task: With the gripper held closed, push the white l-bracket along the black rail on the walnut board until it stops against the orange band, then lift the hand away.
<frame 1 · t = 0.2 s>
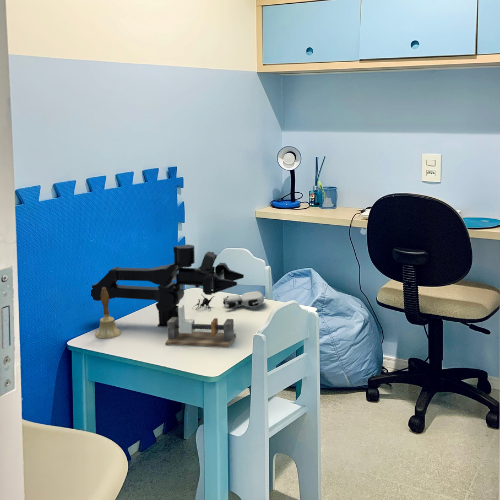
hand: (240, 279, 210), 16 cm above the table, tool horizontal, fingers open, 9 cm apart
creature: (203, 310, 235), on the table
robot toy: (243, 307, 237), on the table
white l-bracket: (186, 318, 202), point 7 cm above the table, slide at 0.0 cm
rail board: (201, 340, 203), on the table
hand bell: (108, 335, 211), on the table
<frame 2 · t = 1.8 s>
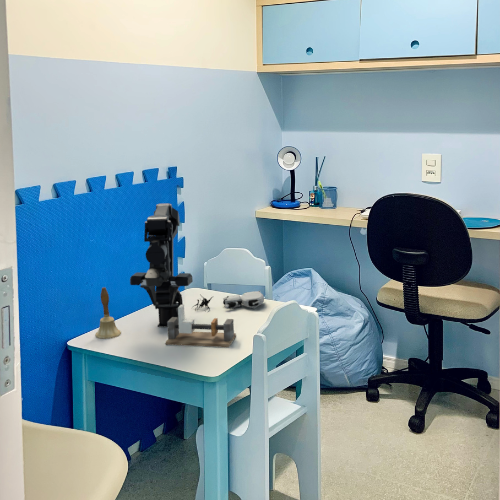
hand: (162, 305, 203), 11 cm above the table, tool pointing down, fingers open, 5 cm apart
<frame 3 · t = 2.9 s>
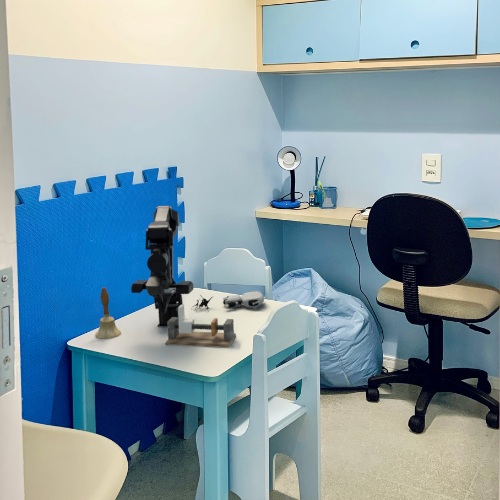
hand: (163, 313, 204), 9 cm above the table, tool pointing down, fingers closed
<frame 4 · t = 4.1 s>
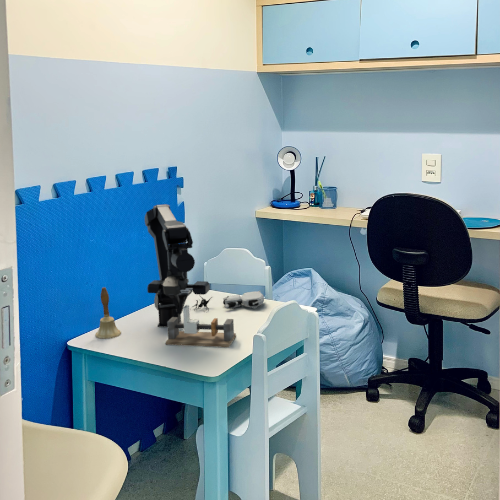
hand: (180, 313, 202), 9 cm above the table, tool pointing down, fingers closed
white l-bracket: (191, 319, 202), point 7 cm above the table, slide at 1.6 cm, touching gripper
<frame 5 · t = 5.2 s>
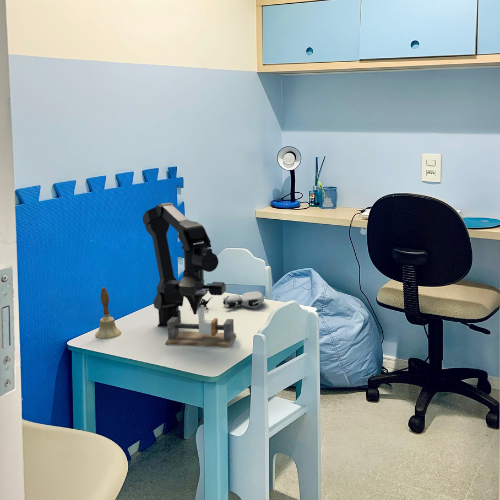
hand: (195, 314, 201), 9 cm above the table, tool pointing down, fingers closed
white l-bracket: (206, 319, 201), point 7 cm above the table, slide at 6.4 cm, touching gripper
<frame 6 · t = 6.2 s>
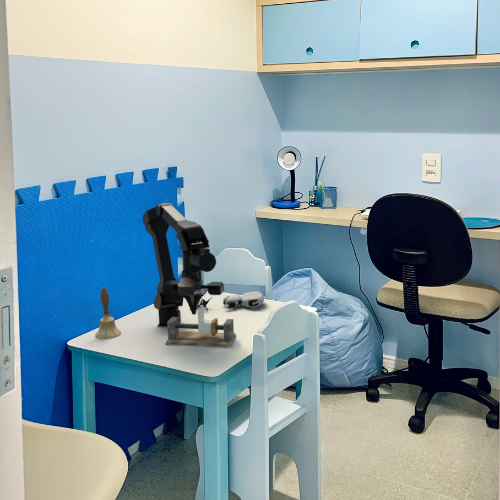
hand: (194, 314, 202), 9 cm above the table, tool pointing down, fingers closed
white l-bracket: (205, 319, 201), point 7 cm above the table, slide at 6.3 cm
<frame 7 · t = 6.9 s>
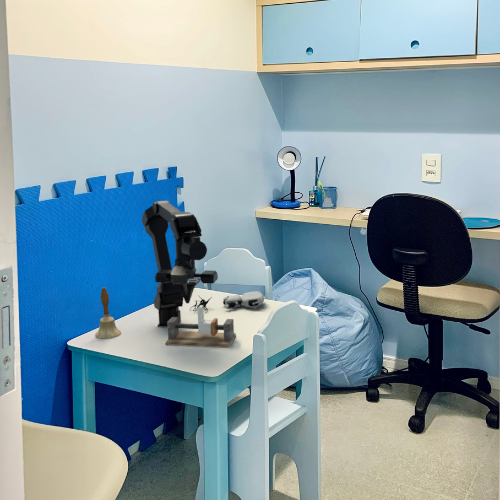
hand: (187, 303, 202), 12 cm above the table, tool pointing down, fingers closed
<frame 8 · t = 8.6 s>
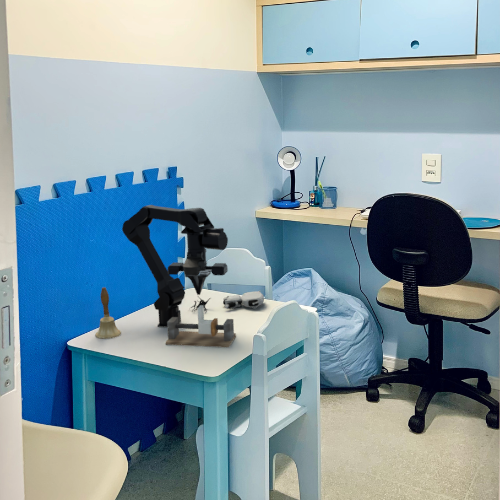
hand: (198, 294, 211), 12 cm above the table, tool pointing down, fingers closed
at the end: white l-bracket slide at 6.3 cm; creature moved 2.6 cm from its start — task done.
